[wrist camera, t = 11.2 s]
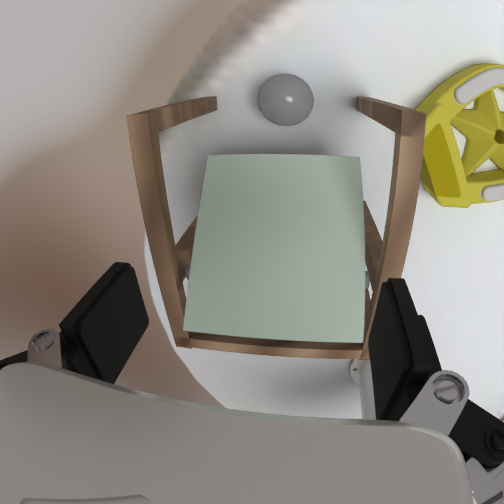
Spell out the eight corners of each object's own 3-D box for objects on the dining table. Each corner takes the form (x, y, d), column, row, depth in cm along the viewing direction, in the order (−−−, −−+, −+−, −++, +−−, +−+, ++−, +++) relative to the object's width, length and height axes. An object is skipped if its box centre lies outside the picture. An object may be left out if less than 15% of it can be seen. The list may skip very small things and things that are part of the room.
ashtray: (387, 94, 29) (400, 96, 25) (514, 53, 21) (536, 54, 17) (431, 216, 35) (445, 235, 31) (542, 167, 27) (562, 180, 23)
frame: (371, 97, 29) (426, 113, 15) (357, 261, 40) (375, 360, 26) (202, 97, 32) (126, 115, 18) (218, 255, 43) (176, 346, 29)
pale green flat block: (355, 183, 31) (363, 157, 26) (356, 343, 26) (368, 342, 22) (216, 180, 33) (204, 155, 28) (197, 332, 29) (178, 329, 24)
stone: (313, 126, 28) (311, 119, 32) (312, 73, 25) (310, 74, 29) (259, 126, 28) (264, 120, 33) (256, 74, 26) (262, 75, 30)
